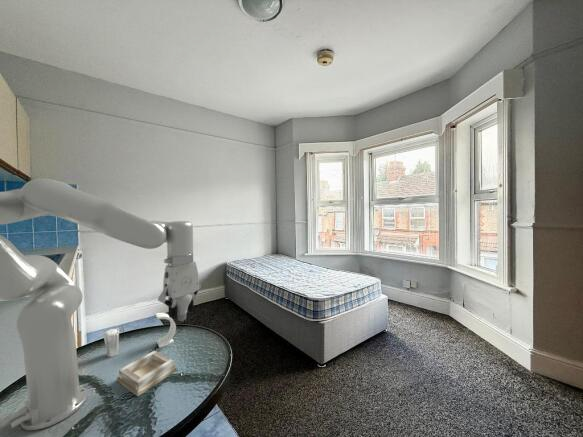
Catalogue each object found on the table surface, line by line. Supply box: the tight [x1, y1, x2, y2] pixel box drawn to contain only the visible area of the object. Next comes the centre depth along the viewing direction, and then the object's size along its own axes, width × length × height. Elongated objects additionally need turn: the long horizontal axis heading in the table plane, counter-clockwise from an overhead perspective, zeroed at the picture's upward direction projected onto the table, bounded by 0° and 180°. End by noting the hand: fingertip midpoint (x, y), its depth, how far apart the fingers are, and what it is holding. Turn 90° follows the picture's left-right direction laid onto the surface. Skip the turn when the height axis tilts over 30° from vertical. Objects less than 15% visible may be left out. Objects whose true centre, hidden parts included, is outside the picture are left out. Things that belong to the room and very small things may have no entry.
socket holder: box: [116, 350, 177, 397], centre depth 75 cm, size 12×12×4 cm
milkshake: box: [103, 328, 120, 358], centre depth 86 cm, size 4×5×10 cm
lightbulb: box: [175, 293, 192, 322], centre depth 77 cm, size 6×6×11 cm
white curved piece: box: [154, 312, 177, 349], centre depth 93 cm, size 5×6×12 cm
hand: (181, 314), depth 77 cm, fingers closed on lightbulb, 5 cm apart
